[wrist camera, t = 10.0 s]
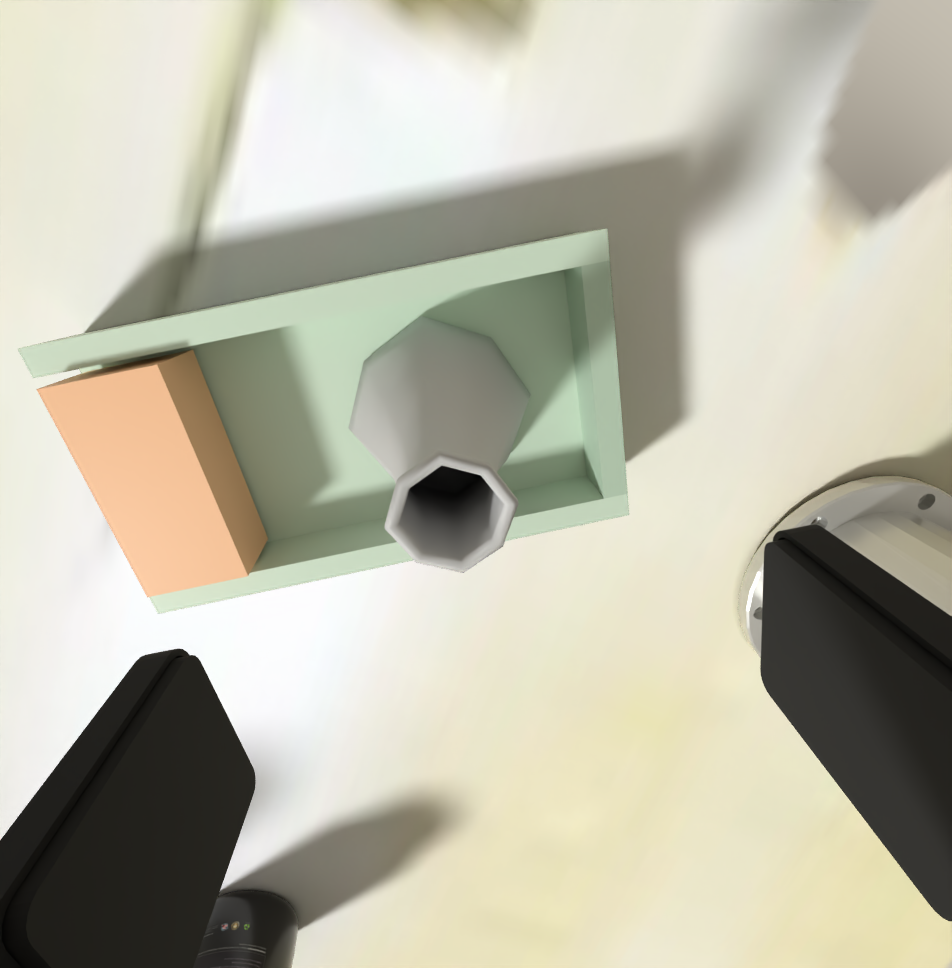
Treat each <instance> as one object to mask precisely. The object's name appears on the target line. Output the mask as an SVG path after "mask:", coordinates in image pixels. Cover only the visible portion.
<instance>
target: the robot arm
mask: <svg viewBox="0 0 952 968" xmlns="http://www.w3.org/2000/svg"><path fill="white" fill-rule="evenodd" d="M738 614H739V620H740V626H741V629H742V631H743V633H744V635H745V638H746V640H747V642H748V643H749V644H750V645H751V647H752V648H753V649H754V650H755V652H756V653H757V654H758V656H759V657H760V658H761V677H762V681H763V683H764V686H765V688H766V690H767V692H768V693H769V695H770V696H771V698H772V699H773V700H774V702H775V703H776V704H777V706H778V707H779V708H780V709H781V711H782V712H783V713H784V715H785V716H786V717H787V719H788V720H789V721H790V723H791V724H792V725H793V726H794V728H795V729H796V730H797V732H798V733H799V734H800V736H801V737H802V738H803V740H804V741H805V742H806V743H807V745H808V746H809V747H810V749H811V750H812V751H813V753H814V754H815V755H816V757H817V758H818V759H819V761H820V762H821V763H822V764H823V766H824V767H825V768H826V770H827V771H828V772H829V774H830V775H831V776H832V778H833V779H834V780H835V781H836V783H837V784H838V785H839V787H840V788H841V789H842V791H843V792H844V793H845V795H846V796H847V797H848V798H849V800H850V801H851V802H852V804H853V805H854V806H855V808H856V809H857V810H858V812H859V813H860V814H861V815H862V817H863V818H864V819H865V821H866V822H867V823H868V825H869V826H870V827H871V829H872V830H873V831H874V833H875V834H876V835H877V836H878V838H879V839H880V840H881V842H882V843H883V844H884V846H885V847H886V848H887V850H888V851H889V852H890V853H891V855H892V856H893V857H894V859H895V860H896V861H897V863H898V864H899V865H900V867H901V868H902V869H903V870H904V872H905V873H906V874H907V876H908V877H909V878H910V880H911V881H912V882H913V884H914V885H915V886H916V887H917V889H918V890H919V891H920V893H921V894H922V895H923V897H924V898H925V899H926V901H927V902H928V903H929V904H930V906H931V907H932V908H933V909H934V910H935V911H936V912H937V913H938V914H939V915H940V916H941V917H942V918H944V919H946V920H948V921H952V496H951V495H949V494H948V493H946V492H944V491H943V490H941V489H939V488H937V487H934V486H932V485H929V484H927V483H925V482H922V481H920V480H917V479H913V478H907V477H901V476H874V477H869V478H864V479H860V480H855V481H850V482H848V483H845V484H843V485H840V486H837V487H835V488H832V489H829V490H827V491H825V492H823V493H822V494H820V495H818V496H816V497H815V498H813V499H811V500H809V501H807V502H806V503H804V504H803V505H802V506H800V507H799V508H798V509H796V510H795V511H794V512H792V513H791V514H790V515H788V516H787V517H786V518H785V519H784V520H783V521H782V522H781V523H780V524H779V525H778V526H777V527H776V528H775V529H774V530H773V531H772V532H771V533H770V534H769V535H768V536H767V538H766V539H765V540H764V542H763V543H762V544H761V546H760V547H759V549H758V550H757V551H756V553H755V554H754V556H753V558H752V560H751V562H750V564H749V566H748V568H747V570H746V572H745V574H744V578H743V581H742V585H741V588H740V591H739V602H738ZM254 790H255V772H254V769H253V767H252V765H251V763H250V761H249V758H248V756H247V754H246V752H245V750H244V748H243V746H242V744H241V742H240V740H239V738H238V736H237V734H236V732H235V730H234V728H233V726H232V724H231V722H230V720H229V718H228V716H227V714H226V712H225V710H224V708H223V706H222V704H221V702H220V700H219V698H218V696H217V694H216V692H215V690H214V688H213V686H212V684H211V682H210V680H209V678H208V676H207V674H206V672H205V670H204V668H203V666H202V664H201V662H200V660H199V659H198V658H197V657H196V656H193V655H190V656H189V654H188V653H187V652H186V651H185V650H183V649H174V650H168V651H163V652H158V653H153V654H148V655H145V656H142V657H140V658H139V659H138V660H137V661H136V662H135V664H134V665H133V666H132V668H131V669H130V670H129V671H128V673H127V674H126V675H125V677H124V678H123V679H122V681H121V682H120V683H119V685H118V686H117V687H116V689H115V690H114V691H113V693H112V694H111V695H110V697H109V698H108V699H107V700H106V702H105V703H104V704H103V706H102V707H101V708H100V710H99V711H98V712H97V714H96V715H95V716H94V718H93V719H92V720H91V722H90V723H89V724H88V726H87V727H86V728H85V729H84V731H83V732H82V733H81V735H80V736H79V737H78V739H77V740H76V741H75V743H74V744H73V745H72V747H71V748H70V749H69V751H68V752H67V753H66V755H65V756H64V757H63V758H62V760H61V761H60V762H59V764H58V765H57V766H56V768H55V769H54V770H53V772H52V773H51V774H50V776H49V777H48V778H47V780H46V781H45V782H44V784H43V785H42V786H41V787H40V789H39V790H38V791H37V793H36V794H35V795H34V797H33V798H32V799H31V801H30V802H29V803H28V805H27V806H26V807H25V809H24V810H23V811H22V813H21V814H20V815H19V816H18V818H17V819H16V820H15V822H14V823H13V824H12V826H11V827H10V828H9V830H8V831H7V832H6V834H5V835H4V836H3V838H2V839H1V840H0V968H193V966H194V963H195V960H196V958H197V955H198V952H199V949H200V946H201V943H202V940H203V937H204V935H205V932H206V929H207V926H208V923H209V920H210V917H211V915H212V912H213V909H214V906H215V903H216V900H217V897H218V894H219V892H220V889H221V886H222V883H223V880H224V877H225V874H226V872H227V869H228V866H229V863H230V860H231V857H232V854H233V851H234V849H235V846H236V843H237V840H238V837H239V834H240V831H241V829H242V826H243V823H244V820H245V817H246V814H247V811H248V808H249V806H250V803H251V800H252V797H253V794H254Z"/></svg>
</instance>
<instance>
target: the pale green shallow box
mask: <svg viewBox="0 0 952 968" xmlns="http://www.w3.org/2000/svg"><path fill="white" fill-rule="evenodd" d="M420 316H423V317H426V318H430V319H433V320H436V321H439V322H443V323H446V324H449V325H452V326H455V327H459V328H462V329H465V330H468V331H472V332H475V333H478V334H481V335H485V336H488V337H491V338H492V339H493V341H494V342H495V344H496V345H497V346H498V348H499V349H500V351H501V352H502V354H503V355H504V356H505V358H506V359H507V361H508V362H509V364H510V365H511V367H512V368H513V369H514V371H515V372H516V374H517V375H518V377H519V378H520V380H521V381H522V382H523V384H524V385H525V387H526V388H527V390H528V391H529V392H530V394H531V395H530V398H529V401H528V404H527V407H526V410H525V412H524V415H523V418H522V421H521V424H520V427H519V430H518V432H517V435H516V438H515V441H514V444H513V447H512V450H511V452H510V455H509V457H508V459H507V461H506V462H505V463H504V464H503V465H502V466H501V468H500V469H499V470H498V471H497V474H498V475H499V476H500V477H501V479H502V480H503V481H504V483H505V484H506V485H507V486H508V488H509V489H510V490H511V492H512V493H513V494H514V495H515V497H516V498H517V499H518V503H519V504H518V507H517V509H516V512H515V515H514V517H513V520H512V523H511V526H510V528H509V531H508V534H507V536H506V539H505V541H508V540H512V539H517V538H522V537H527V536H531V535H536V534H541V533H546V532H550V531H555V530H560V529H565V528H570V527H574V526H579V525H584V524H589V523H593V522H598V521H603V520H608V519H612V518H617V517H622V516H627V515H629V505H628V492H627V479H626V466H625V453H624V440H623V427H622V413H621V400H620V387H619V374H618V361H617V348H616V335H615V322H614V309H613V295H612V282H611V269H610V256H609V243H608V230H607V229H599V230H592V231H585V232H578V233H573V234H568V235H563V236H558V237H553V238H548V239H543V240H538V241H534V242H529V243H524V244H519V245H514V246H509V247H504V248H499V249H494V250H489V251H485V252H480V253H475V254H470V255H465V256H460V257H455V258H450V259H445V260H440V261H436V262H431V263H426V264H421V265H416V266H411V267H406V268H401V269H396V270H391V271H387V272H382V273H377V274H372V275H367V276H362V277H357V278H352V279H347V280H342V281H337V282H333V283H328V284H323V285H318V286H313V287H308V288H303V289H298V290H293V291H288V292H284V293H279V294H274V295H269V296H264V297H259V298H254V299H249V300H244V301H239V302H235V303H230V304H225V305H220V306H215V307H210V308H205V309H200V310H195V311H190V312H186V313H181V314H176V315H171V316H166V317H161V318H156V319H151V320H146V321H141V322H137V323H132V324H127V325H122V326H117V327H112V328H107V329H102V330H97V331H92V332H88V333H83V334H78V335H74V336H70V337H66V338H61V339H57V340H53V341H49V342H44V343H40V344H36V345H32V346H27V347H23V348H19V349H18V351H19V353H20V355H21V356H22V358H23V360H24V362H25V364H26V366H27V368H28V370H29V371H30V373H31V375H32V377H33V378H37V377H42V376H47V375H52V374H57V373H61V372H66V371H71V370H76V369H79V370H80V372H81V374H82V373H85V372H87V371H91V370H96V369H101V368H106V367H111V366H116V365H121V364H125V363H130V362H135V361H140V360H145V359H150V358H155V357H160V356H164V355H169V354H174V353H179V352H184V351H189V350H193V351H194V353H195V356H196V358H197V361H198V363H199V366H200V369H201V371H202V374H203V376H204V379H205V381H206V384H207V386H208V389H209V391H210V394H211V396H212V399H213V401H214V404H215V406H216V409H217V411H218V414H219V416H220V419H221V421H222V424H223V426H224V429H225V431H226V434H227V436H228V439H229V441H230V444H231V446H232V449H233V451H234V454H235V456H236V459H237V462H238V464H239V467H240V469H241V472H242V474H243V477H244V479H245V482H246V484H247V487H248V489H249V492H250V494H251V497H252V499H253V502H254V504H255V507H256V509H257V512H258V514H259V517H260V519H261V522H262V524H263V527H264V529H265V532H266V534H267V537H268V540H267V542H266V544H265V546H264V548H263V550H262V551H261V553H260V555H259V557H258V559H257V561H256V563H255V564H254V566H253V568H252V570H251V572H250V574H249V576H247V577H242V578H237V579H233V580H228V581H223V582H218V583H214V584H209V585H204V586H199V587H194V588H190V589H185V590H180V591H175V592H171V593H166V594H161V595H156V596H152V597H149V598H150V599H151V601H152V603H153V605H154V607H155V609H156V611H157V613H158V614H160V613H165V612H170V611H174V610H179V609H184V608H189V607H193V606H198V605H203V604H208V603H212V602H217V601H222V600H227V599H232V598H236V597H241V596H246V595H251V594H255V593H260V592H265V591H270V590H274V589H279V588H284V587H289V586H293V585H298V584H303V583H308V582H312V581H317V580H322V579H327V578H332V577H336V576H341V575H346V574H351V573H355V572H360V571H365V570H370V569H374V568H379V567H384V566H389V565H393V564H398V563H403V562H408V561H412V560H413V558H412V557H411V556H410V555H409V554H408V553H407V552H406V551H405V550H404V549H403V548H402V547H401V546H400V545H399V544H398V542H397V541H396V540H395V539H394V538H393V537H392V536H391V535H390V534H389V533H388V532H387V531H386V530H385V522H386V518H387V514H388V511H389V507H390V503H391V500H392V496H393V492H394V489H395V485H396V483H395V480H394V479H393V478H392V477H391V476H390V475H389V474H388V472H387V471H386V470H385V469H384V468H383V467H382V466H381V464H380V463H379V462H378V461H377V460H376V459H375V458H374V456H373V455H372V454H371V453H370V452H369V451H368V450H367V449H366V447H365V446H364V445H363V444H362V443H361V442H360V441H359V439H358V438H357V437H356V436H355V435H354V434H353V433H352V432H351V430H350V429H349V423H350V419H351V415H352V410H353V406H354V401H355V397H356V393H357V388H358V384H359V380H360V375H361V371H362V367H363V362H364V360H366V359H367V358H368V357H369V356H371V355H372V354H373V353H374V352H376V351H377V350H378V349H380V348H381V347H382V346H383V345H385V344H386V343H387V342H389V341H390V340H391V339H392V338H394V337H395V336H396V335H397V334H399V333H400V332H401V331H403V330H404V329H405V328H406V327H408V326H409V325H410V324H412V323H413V322H414V321H415V320H417V319H418V318H419V317H420Z"/></svg>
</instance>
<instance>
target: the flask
mask: <svg viewBox="0 0 952 968" xmlns="http://www.w3.org/2000/svg"><path fill="white" fill-rule="evenodd" d="M530 395H531V394H530V392H529V391H528V390H527V388H526V387H525V385H524V384H523V382H522V381H521V380H520V378H519V377H518V375H517V374H516V372H515V371H514V369H513V368H512V367H511V365H510V364H509V362H508V361H507V359H506V358H505V356H504V355H503V354H502V352H501V351H500V349H499V348H498V346H497V345H496V344H495V342H494V341H493V339H492V338H491V337H488V336H485V335H481V334H478V333H475V332H472V331H468V330H465V329H462V328H459V327H455V326H452V325H449V324H446V323H443V322H439V321H436V320H433V319H430V318H426V317H423V316H420V317H419V318H418V319H417V320H415V321H414V322H413V323H412V324H410V325H409V326H408V327H406V328H405V329H404V330H403V331H401V332H400V333H399V334H397V335H396V336H395V337H394V338H392V339H391V340H390V341H389V342H387V343H386V344H385V345H383V346H382V347H381V348H380V349H378V350H377V351H376V352H374V353H373V354H372V355H371V356H369V357H368V358H367V359H366V360H364V362H363V367H362V371H361V375H360V380H359V384H358V388H357V393H356V397H355V401H354V406H353V410H352V415H351V419H350V423H349V429H350V430H351V432H352V433H353V434H354V435H355V436H356V437H357V438H358V439H359V441H360V442H361V443H362V444H363V445H364V446H365V447H366V449H367V450H368V451H369V452H370V453H371V454H372V455H373V456H374V458H375V459H376V460H377V461H378V462H379V463H380V464H381V466H382V467H383V468H384V469H385V470H386V471H387V472H388V474H389V475H390V476H391V477H392V478H393V479H394V480H395V483H396V485H395V489H394V492H393V496H392V500H391V503H390V507H389V511H388V514H387V518H386V522H385V530H386V531H387V532H388V533H389V534H390V535H391V536H392V537H393V538H394V539H395V540H396V541H397V542H398V544H399V545H400V546H401V547H402V548H403V549H404V550H405V551H406V552H407V553H408V554H409V555H410V556H411V557H412V558H413V560H414V561H415V562H416V563H420V564H425V565H429V566H434V567H439V568H443V569H448V570H453V571H457V572H462V573H464V572H465V571H467V570H468V569H470V568H471V567H473V566H474V565H476V564H477V563H479V562H480V561H482V560H483V559H485V558H486V557H488V556H489V555H491V554H492V553H494V552H495V551H497V550H498V549H500V548H501V547H503V544H504V542H505V539H506V536H507V534H508V531H509V528H510V526H511V523H512V520H513V517H514V515H515V512H516V509H517V507H518V504H519V503H518V499H517V498H516V497H515V495H514V494H513V493H512V492H511V490H510V489H509V488H508V486H507V485H506V484H505V483H504V481H503V480H502V479H501V477H500V476H499V475H498V474H497V471H498V470H499V469H500V468H501V466H502V465H503V464H504V463H505V462H506V461H507V459H508V457H509V455H510V452H511V450H512V447H513V444H514V441H515V438H516V435H517V432H518V430H519V427H520V424H521V421H522V418H523V415H524V412H525V410H526V407H527V404H528V401H529V398H530Z"/></svg>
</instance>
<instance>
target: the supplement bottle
mask: <svg viewBox="0 0 952 968" xmlns="http://www.w3.org/2000/svg"><path fill="white" fill-rule="evenodd" d="M297 932H298V919H297V915H296V913H295V911H294V909H293V908H292V906H291V905H290V904H289V903H288V902H287V901H285V900H284V899H282V898H281V897H279V896H276V895H274V894H271V893H267V892H263V891H253V890H246V891H236V892H231V893H228V894H225V895H222V896H220V897H218V898H217V900H216V903H215V906H214V909H213V912H212V915H211V917H210V920H209V923H208V926H207V929H206V932H205V935H204V937H203V940H202V943H201V946H200V949H199V952H198V955H197V958H196V960H195V963H194V966H193V968H292V962H293V957H294V951H295V944H296V939H297Z"/></svg>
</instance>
